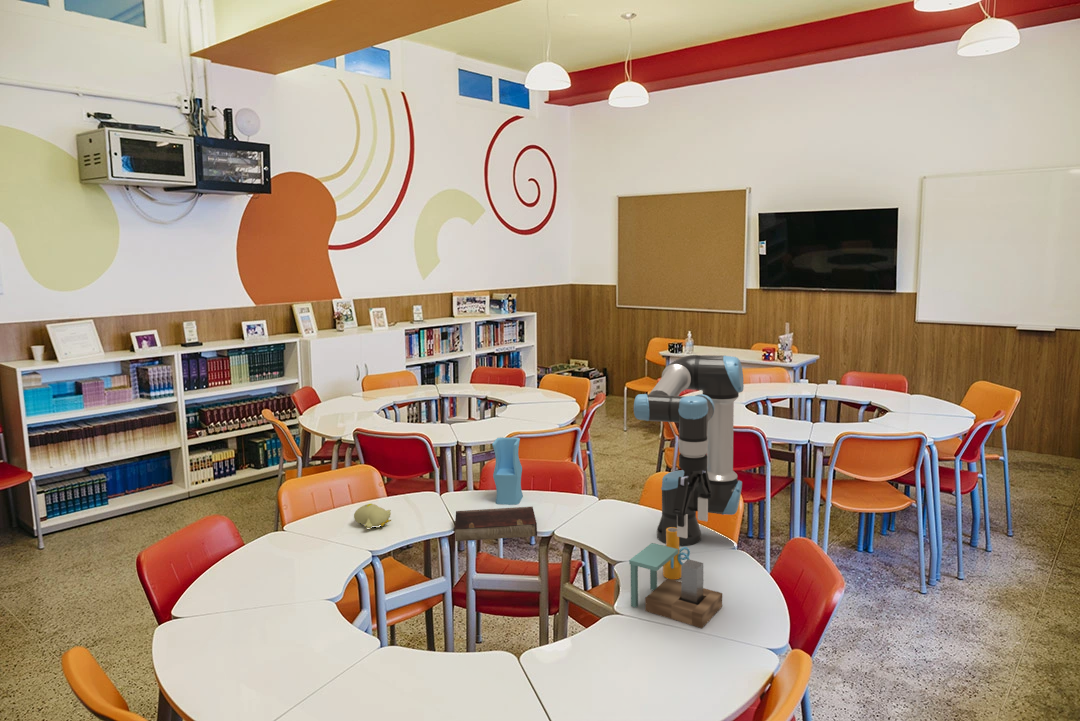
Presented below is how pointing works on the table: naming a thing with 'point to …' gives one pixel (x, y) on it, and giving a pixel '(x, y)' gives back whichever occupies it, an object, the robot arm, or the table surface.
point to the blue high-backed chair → (507, 471)
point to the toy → (372, 515)
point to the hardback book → (495, 523)
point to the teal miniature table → (649, 566)
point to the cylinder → (674, 565)
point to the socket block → (682, 604)
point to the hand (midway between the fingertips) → (692, 528)
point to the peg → (692, 582)
